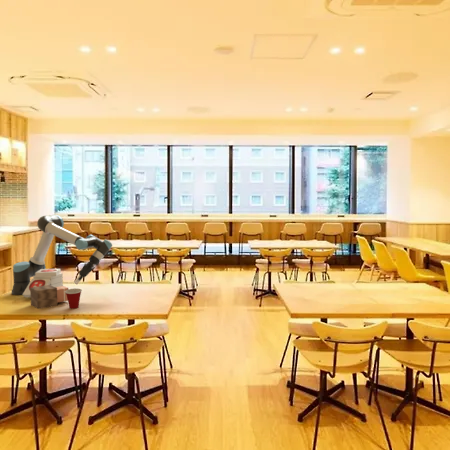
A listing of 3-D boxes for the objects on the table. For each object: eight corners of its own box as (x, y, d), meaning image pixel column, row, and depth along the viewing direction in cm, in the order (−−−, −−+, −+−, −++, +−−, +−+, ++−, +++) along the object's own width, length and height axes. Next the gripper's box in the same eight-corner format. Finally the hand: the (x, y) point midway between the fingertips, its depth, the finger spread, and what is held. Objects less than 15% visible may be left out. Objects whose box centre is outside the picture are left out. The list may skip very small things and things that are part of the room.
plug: (63, 298, 318) (63, 285, 317) (68, 300, 311) (68, 287, 311) (46, 301, 310) (46, 288, 309) (51, 303, 303) (51, 290, 302)
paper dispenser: (20, 299, 321) (19, 275, 319) (45, 290, 350) (44, 268, 348) (43, 300, 316) (42, 276, 315) (67, 291, 346) (66, 268, 344)
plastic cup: (64, 310, 291) (63, 292, 290) (66, 306, 302) (66, 288, 301) (81, 309, 293) (80, 291, 292) (83, 305, 304) (82, 288, 303)
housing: (49, 301, 314) (49, 284, 313) (57, 305, 304) (56, 287, 303) (31, 305, 305) (30, 287, 304) (38, 308, 295) (37, 290, 294)
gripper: (103, 262, 326) (83, 287, 316) (95, 260, 335) (75, 285, 325) (96, 255, 322) (75, 281, 312) (88, 253, 331) (67, 278, 321)
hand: (75, 283), depth 319 cm, fingers closed
